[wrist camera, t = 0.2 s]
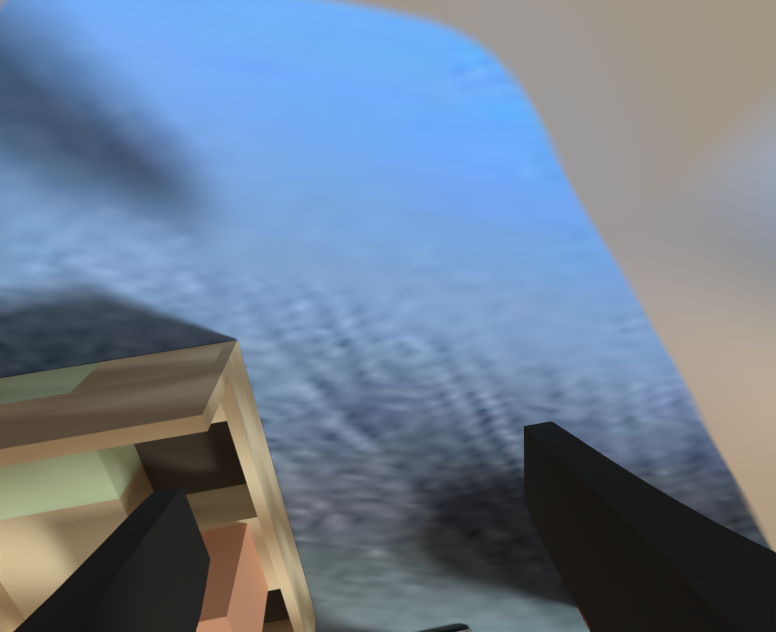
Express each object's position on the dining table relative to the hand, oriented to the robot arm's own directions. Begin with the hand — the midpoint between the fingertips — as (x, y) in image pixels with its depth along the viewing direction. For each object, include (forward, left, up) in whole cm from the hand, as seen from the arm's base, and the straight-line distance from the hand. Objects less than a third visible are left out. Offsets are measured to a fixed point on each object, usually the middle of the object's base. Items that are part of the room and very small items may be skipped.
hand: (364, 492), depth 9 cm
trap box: (-9, +11, -10) cm, 17 cm away
